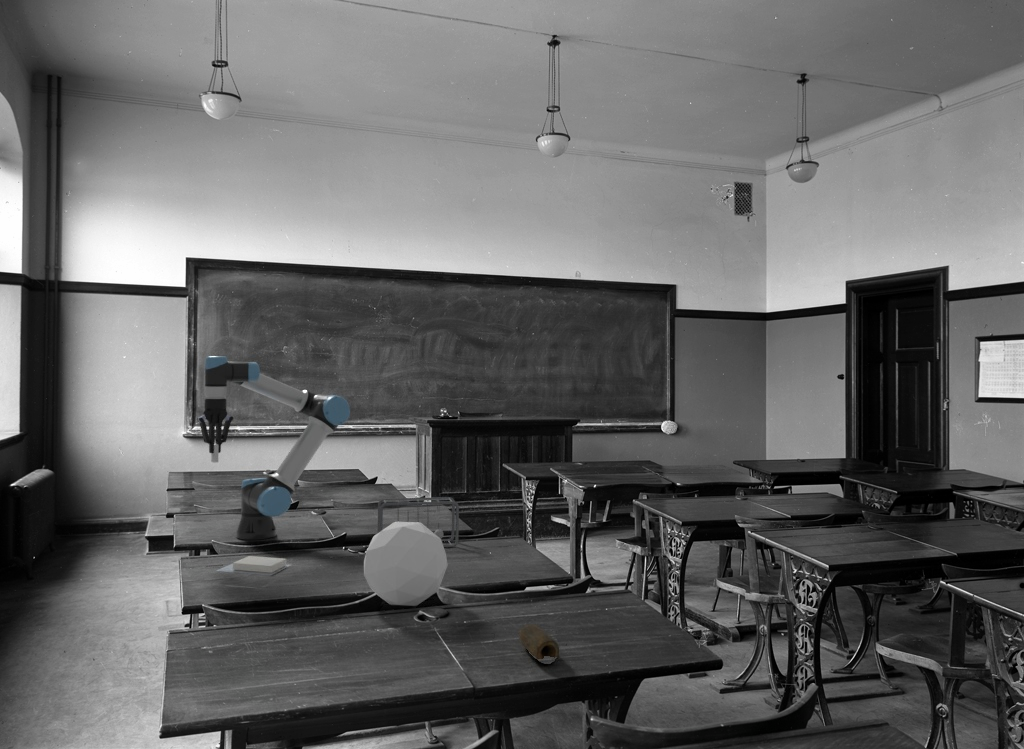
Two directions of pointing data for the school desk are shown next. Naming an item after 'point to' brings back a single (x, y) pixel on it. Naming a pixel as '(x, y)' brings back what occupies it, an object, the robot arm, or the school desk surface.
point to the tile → (259, 564)
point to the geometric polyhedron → (405, 563)
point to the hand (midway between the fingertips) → (214, 461)
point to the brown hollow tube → (538, 642)
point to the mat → (230, 569)
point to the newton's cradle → (437, 532)
